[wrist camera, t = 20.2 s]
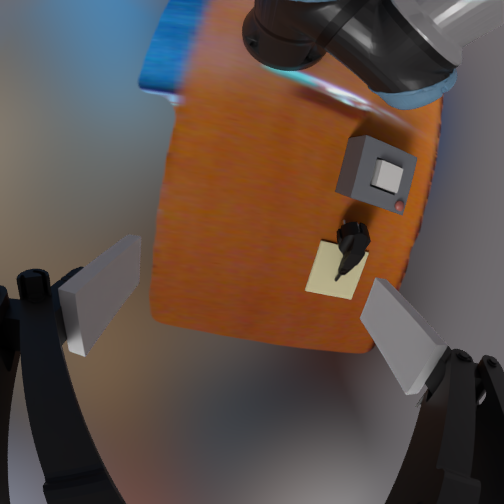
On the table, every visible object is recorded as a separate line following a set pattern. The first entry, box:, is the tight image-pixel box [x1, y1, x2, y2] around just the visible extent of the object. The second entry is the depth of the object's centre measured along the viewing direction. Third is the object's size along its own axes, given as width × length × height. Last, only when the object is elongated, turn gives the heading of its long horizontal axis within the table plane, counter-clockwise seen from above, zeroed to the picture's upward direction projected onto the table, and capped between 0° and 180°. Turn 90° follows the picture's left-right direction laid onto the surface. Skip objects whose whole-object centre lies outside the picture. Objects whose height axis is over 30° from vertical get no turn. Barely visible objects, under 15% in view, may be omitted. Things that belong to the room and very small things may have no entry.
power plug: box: [334, 219, 371, 282], centre depth 47 cm, size 6×8×12 cm
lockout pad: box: [305, 240, 368, 299], centre depth 51 cm, size 10×10×1 cm
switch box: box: [335, 135, 417, 215], centre depth 41 cm, size 10×10×8 cm
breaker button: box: [370, 160, 403, 193], centre depth 39 cm, size 4×4×4 cm
